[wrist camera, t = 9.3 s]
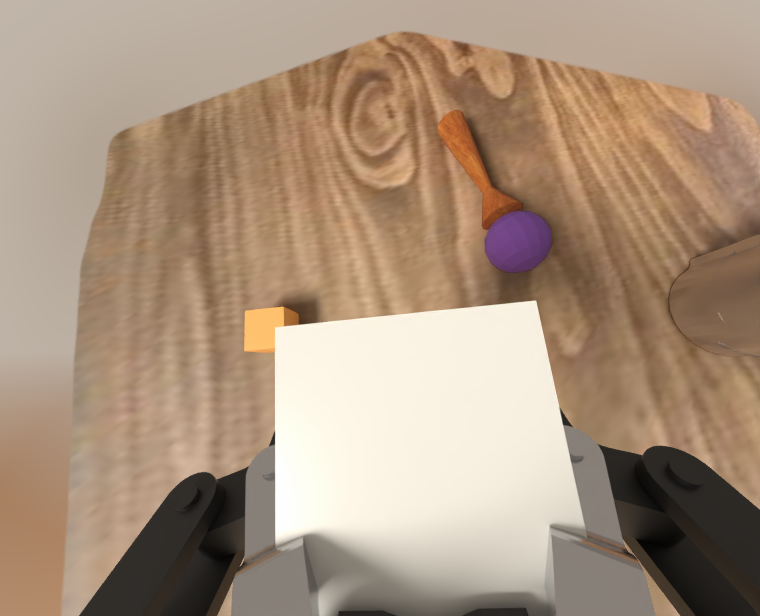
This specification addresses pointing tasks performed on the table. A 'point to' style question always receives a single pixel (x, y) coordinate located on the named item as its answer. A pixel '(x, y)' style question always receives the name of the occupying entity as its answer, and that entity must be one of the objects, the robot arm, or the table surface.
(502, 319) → the cover
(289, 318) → the block
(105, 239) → the table surface
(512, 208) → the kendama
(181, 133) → the table surface
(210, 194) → the table surface
